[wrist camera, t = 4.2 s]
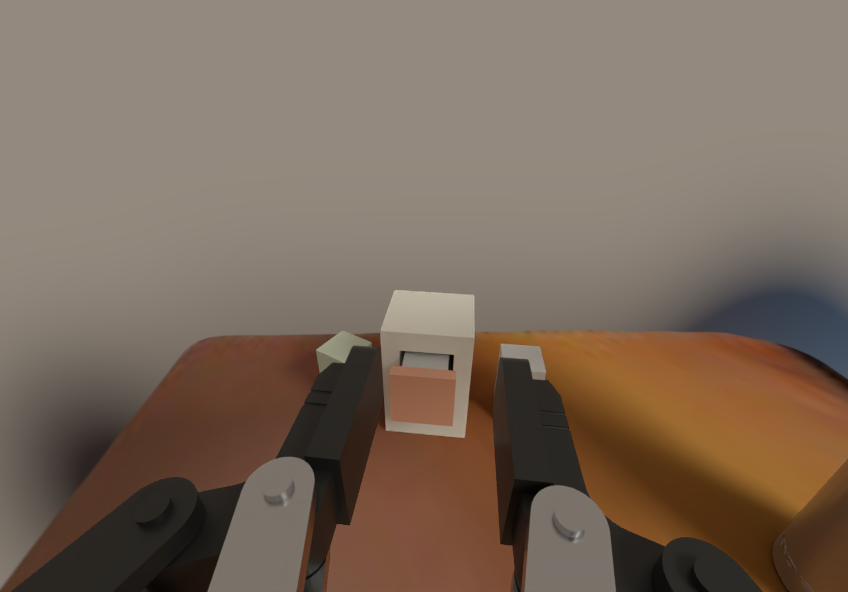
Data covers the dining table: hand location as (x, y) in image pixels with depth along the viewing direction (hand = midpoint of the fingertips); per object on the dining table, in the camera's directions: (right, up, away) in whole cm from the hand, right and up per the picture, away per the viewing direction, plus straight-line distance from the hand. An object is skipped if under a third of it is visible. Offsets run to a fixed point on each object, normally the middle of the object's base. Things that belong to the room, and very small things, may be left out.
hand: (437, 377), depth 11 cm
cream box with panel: (0, -11, +36) cm, 38 cm away
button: (0, -8, +30) cm, 31 cm away
